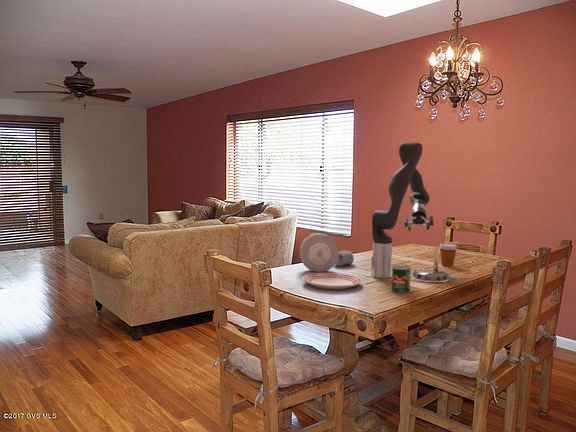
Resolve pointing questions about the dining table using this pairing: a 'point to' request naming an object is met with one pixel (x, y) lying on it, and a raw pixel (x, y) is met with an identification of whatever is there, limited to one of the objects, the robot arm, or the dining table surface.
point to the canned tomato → (401, 279)
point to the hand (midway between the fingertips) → (418, 228)
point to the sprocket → (434, 273)
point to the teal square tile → (452, 277)
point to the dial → (319, 259)
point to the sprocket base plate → (429, 280)
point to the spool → (344, 258)
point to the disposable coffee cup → (447, 254)
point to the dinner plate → (332, 280)
